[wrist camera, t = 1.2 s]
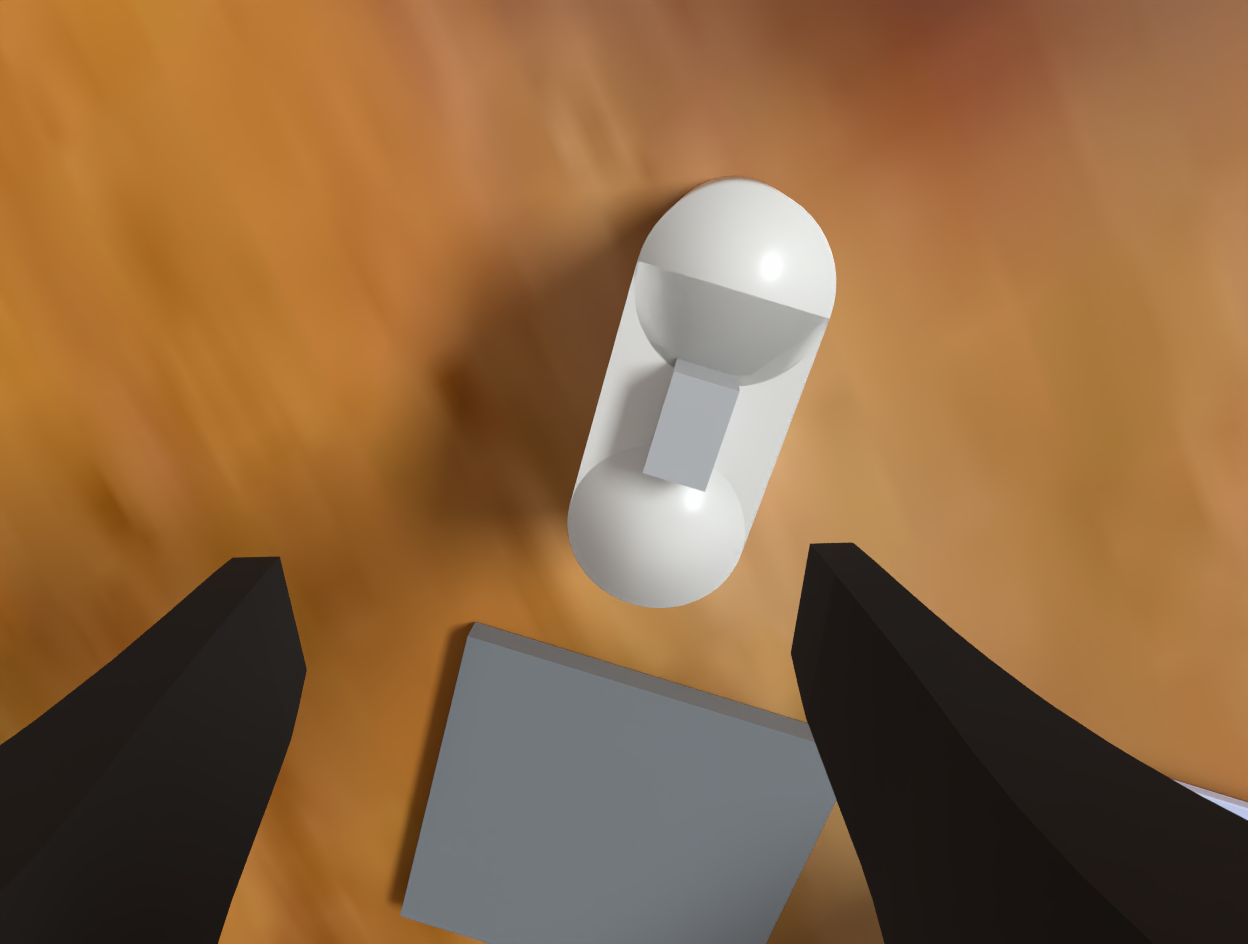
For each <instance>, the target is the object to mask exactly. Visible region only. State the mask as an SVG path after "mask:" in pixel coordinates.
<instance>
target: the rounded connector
mask: <svg viewBox="0 0 1248 944" xmlns="http://www.w3.org/2000/svg"><path fill="white" fill-rule="evenodd" d="M835 294H836V272H835V264H834V260H833V256H832V252H831V249H830V247H829V244H828V241H827V239H826V237H825V235H824V234H823V232H822V230H821V228H820V227H819V225H818V224H817V223H816V221H815V220H814V219H813V218H812V216H811V215H810V214H809V213H808V212H807V211H806V210H805V209H804V208H803V207H801V206H800V205H799V204H797V203H796V202H795V201H793V200H792V199H791V198H789V197H787V196H786V195H784V194H783V193H781V192H780V191H778V190H777V189H775V188H774V187H772V186H770V185H768V184H766V183H765V182H762V181H760V180H757V179H754V178H749V177H744V176H725V177H720V178H715V179H712V180H709V181H706V182H704V183H702V184H700V185H698V186H697V187H695V188H694V189H692V190H691V191H689V192H688V193H687V194H686V195H685V196H683V197H682V198H681V199H680V200H679V201H678V202H677V203H676V204H675V205H674V206H673V207H672V208H671V209H670V210H668V211H667V212H666V213H665V214H664V215H663V217H662V218H661V219H660V220H659V221H658V222H657V223H656V225H655V226H654V228H653V229H652V230H651V232H650V233H649V235H648V237H647V239H646V241H645V243H644V245H643V247H642V249H641V252H640V255H639V258H638V260H637V264H636V268H635V271H634V275H633V278H632V282H631V286H630V289H629V293H628V296H627V300H626V304H625V307H624V311H623V314H622V318H621V322H620V325H619V329H618V333H617V336H616V340H615V343H614V347H613V351H612V354H611V358H610V361H609V365H608V369H607V372H606V376H605V379H604V383H603V387H602V390H601V394H600V397H599V401H598V405H597V408H596V412H595V415H594V419H593V423H592V426H591V430H590V434H589V437H588V441H587V444H586V448H585V452H584V455H583V459H582V462H581V466H580V470H579V473H578V477H577V480H576V484H575V488H574V491H573V495H572V498H571V502H570V506H569V511H568V521H567V527H568V537H569V541H570V545H571V548H572V551H573V553H574V556H575V558H576V560H577V561H578V563H579V565H580V566H581V568H582V569H583V571H584V572H585V573H586V575H587V576H588V577H589V578H590V579H591V580H592V581H593V582H594V583H595V584H596V585H598V586H599V587H600V588H601V589H603V590H604V591H606V592H607V593H609V594H610V595H612V596H614V597H616V598H618V599H620V600H622V601H625V602H628V603H630V604H634V605H638V606H643V607H651V608H668V607H676V606H681V605H685V604H688V603H691V602H694V601H697V600H699V599H701V598H703V597H705V596H706V595H708V594H709V593H711V592H712V591H714V590H715V589H716V588H718V587H719V586H720V585H721V584H722V583H723V582H724V581H725V580H726V579H727V578H728V576H729V575H730V574H731V572H732V571H733V569H734V568H735V566H736V564H737V562H738V560H739V558H740V556H741V553H742V550H743V548H744V545H745V542H746V540H747V537H748V534H749V532H750V529H751V526H752V524H753V521H754V518H755V516H756V513H757V510H758V508H759V505H760V502H761V500H762V497H763V494H764V492H765V489H766V486H767V484H768V481H769V478H770V476H771V473H772V470H773V468H774V465H775V463H776V460H777V457H778V455H779V452H780V449H781V447H782V444H783V441H784V439H785V436H786V433H787V431H788V428H789V425H790V423H791V420H792V417H793V415H794V412H795V409H796V407H797V404H798V401H799V399H800V396H801V393H802V391H803V388H804V385H805V383H806V380H807V377H808V375H809V372H810V369H811V367H812V364H813V361H814V359H815V356H816V353H817V351H818V348H819V345H820V343H821V340H822V337H823V335H824V332H825V329H826V327H827V324H828V321H829V319H830V316H831V312H832V309H833V306H834V300H835Z"/></svg>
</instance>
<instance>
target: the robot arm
mask: <svg viewBox="0 0 1248 944" xmlns="http://www.w3.org/2000/svg"><path fill="white" fill-rule="evenodd" d="M791 656H792V660H793V665H794V669H795V674H796V678H797V683H798V687H799V691H800V695H801V699H802V703H803V707H804V711H805V715H806V719H807V722H808V725H809V727H810V730H811V733H812V736H813V738H814V741H815V744H816V746H817V749H818V752H819V755H820V757H821V760H822V763H823V765H824V768H825V771H826V773H827V776H828V779H829V781H830V784H831V787H832V789H833V792H834V794H835V797H836V800H837V802H838V805H839V808H840V810H841V813H842V816H843V818H844V821H845V824H846V826H847V829H848V831H849V834H850V837H851V839H852V842H853V845H854V847H855V850H856V853H857V855H858V858H859V860H860V863H861V866H862V869H863V872H864V875H865V878H866V881H867V884H868V887H869V890H870V893H871V896H872V899H873V902H874V906H875V910H876V914H877V917H878V921H879V925H880V928H881V932H882V936H883V939H884V943H885V944H1248V802H1245V801H1241V800H1238V799H1235V798H1232V797H1228V796H1225V795H1222V794H1219V793H1215V792H1212V791H1209V790H1205V789H1202V788H1199V787H1196V786H1192V785H1189V784H1186V783H1183V782H1179V781H1176V780H1173V779H1170V778H1169V777H1167V776H1165V775H1163V774H1162V773H1160V772H1158V771H1156V770H1155V769H1153V768H1151V767H1149V766H1147V765H1146V764H1144V763H1142V762H1140V761H1139V760H1137V759H1135V758H1134V757H1132V756H1130V755H1129V754H1127V753H1125V752H1124V751H1122V750H1121V749H1119V748H1117V747H1116V746H1114V745H1112V744H1111V743H1109V742H1107V741H1106V740H1104V739H1103V738H1101V737H1100V736H1098V735H1097V734H1095V733H1094V732H1092V731H1091V730H1089V729H1087V728H1086V727H1084V726H1083V725H1081V724H1080V723H1078V722H1077V721H1075V720H1074V719H1072V718H1071V717H1069V716H1068V715H1066V714H1065V713H1063V712H1062V711H1060V710H1058V709H1057V708H1055V707H1054V706H1053V705H1051V704H1050V703H1048V702H1047V701H1045V700H1044V699H1043V698H1041V697H1040V696H1038V695H1037V694H1035V693H1034V692H1033V691H1031V690H1030V689H1029V688H1027V687H1026V686H1025V685H1023V684H1022V683H1021V682H1019V681H1018V680H1017V679H1015V678H1014V677H1013V676H1011V675H1010V674H1009V673H1007V672H1006V671H1005V670H1003V669H1002V668H1001V667H999V666H998V665H997V664H995V663H994V662H993V661H991V660H990V659H989V658H988V657H986V656H985V655H984V654H983V653H981V652H980V651H979V650H978V649H976V648H975V647H974V646H973V645H971V644H970V643H969V642H968V641H966V640H965V639H964V638H963V637H961V636H960V635H959V634H958V633H957V632H955V631H954V630H953V629H952V628H951V627H949V626H948V625H947V624H946V623H945V622H944V621H942V620H941V619H940V618H939V617H938V616H936V615H935V614H934V613H933V612H932V611H931V610H929V609H928V608H927V607H926V606H925V605H924V604H923V603H921V602H920V601H919V600H918V599H917V598H916V597H915V596H913V595H912V594H911V593H910V592H909V591H908V590H907V589H905V588H904V587H903V586H902V585H901V584H900V583H899V582H898V581H896V580H895V579H894V578H893V577H892V576H891V575H890V574H889V573H887V572H886V571H885V570H884V569H883V568H882V567H881V566H880V565H878V564H877V563H876V562H875V561H874V560H873V559H872V558H870V557H869V556H868V555H867V554H866V553H865V552H863V551H862V550H861V549H860V548H859V547H857V546H856V545H855V544H854V543H818V544H810V547H809V552H808V558H807V564H806V570H805V575H804V581H803V587H802V592H801V598H800V604H799V609H798V615H797V621H796V627H795V632H794V638H793V644H792V649H791ZM306 670H307V669H306V665H305V661H304V656H303V652H302V648H301V644H300V640H299V635H298V631H297V627H296V623H295V619H294V615H293V610H292V606H291V602H290V598H289V594H288V589H287V585H286V581H285V577H284V573H283V569H282V564H281V560H280V557H245V558H232V559H231V560H229V561H228V562H227V563H225V564H224V565H223V566H222V567H220V568H219V569H218V570H217V571H216V572H214V573H213V574H212V575H211V576H210V577H209V578H207V579H206V580H205V581H204V582H203V583H202V584H201V585H199V586H198V587H197V588H196V589H195V590H194V591H192V592H191V593H190V594H189V595H188V596H187V597H186V598H184V599H183V600H182V601H181V602H180V603H179V604H178V605H176V606H175V607H174V608H173V609H172V610H171V611H170V612H168V613H167V614H166V615H165V616H164V617H163V618H161V619H160V620H159V621H158V622H157V623H156V624H154V625H153V626H152V627H151V628H150V629H148V630H147V631H146V632H145V633H144V634H143V635H141V636H140V637H139V638H138V639H137V640H135V641H134V642H133V643H132V644H131V645H130V646H128V647H127V648H126V649H125V650H124V651H122V652H121V653H120V654H119V655H118V656H117V657H115V658H114V659H113V660H112V661H111V662H109V663H108V664H107V665H106V666H104V667H103V668H102V669H100V670H99V671H98V672H97V673H95V674H94V675H93V676H91V677H90V678H89V679H88V680H86V681H85V682H84V683H82V684H81V685H80V686H79V687H77V688H76V689H75V690H73V691H72V692H71V693H70V694H68V695H67V696H66V697H64V698H63V699H62V700H61V701H59V702H58V703H57V704H55V705H54V706H53V707H52V708H50V709H49V710H48V711H47V712H45V713H44V714H43V715H41V716H40V717H39V718H38V719H36V720H35V721H33V722H32V723H31V724H29V725H28V726H27V727H25V728H24V729H23V730H21V731H20V732H18V733H17V734H16V735H14V736H13V737H11V738H10V739H9V740H7V741H6V742H4V743H3V744H1V745H0V944H218V942H219V938H220V935H221V932H222V929H223V926H224V923H225V920H226V916H227V913H228V910H229V907H230V904H231V901H232V898H233V896H234V893H235V890H236V888H237V885H238V882H239V879H240V877H241V874H242V871H243V869H244V866H245V863H246V861H247V858H248V855H249V853H250V850H251V847H252V845H253V842H254V839H255V837H256V834H257V831H258V828H259V826H260V823H261V820H262V818H263V815H264V812H265V810H266V807H267V804H268V802H269V799H270V796H271V794H272V791H273V788H274V785H275V783H276V780H277V777H278V774H279V772H280V769H281V766H282V763H283V761H284V758H285V755H286V752H287V749H288V746H289V744H290V741H291V737H292V733H293V729H294V725H295V721H296V717H297V712H298V708H299V704H300V699H301V694H302V689H303V685H304V680H305V675H306Z"/></svg>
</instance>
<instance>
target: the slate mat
mask: <svg viewBox="0 0 1248 944" xmlns="http://www.w3.org/2000/svg"><path fill="white" fill-rule="evenodd" d="M835 802H836V797H835V794H834V792H833V789H832V787H831V784H830V781H829V779H828V776H827V773H826V771H825V768H824V765H823V763H822V760H821V757H820V755H819V752H818V749H817V746H816V744H815V741H814V738H813V736H812V733H811V730H810V727H809V725H808V723H804V722H801V721H798V720H795V719H791V718H788V717H785V716H782V715H778V714H775V713H772V712H768V711H765V710H762V709H759V708H755V707H752V706H749V705H746V704H742V703H739V702H736V701H733V700H729V699H726V698H723V697H719V696H716V695H713V694H710V693H706V692H703V691H700V690H697V689H693V688H690V687H687V686H683V685H680V684H677V683H674V682H670V681H667V680H664V679H661V678H657V677H654V676H651V675H647V674H644V673H641V672H638V671H634V670H631V669H628V668H625V667H621V666H618V665H615V664H611V663H608V662H605V661H602V660H598V659H595V658H592V657H589V656H585V655H582V654H579V653H576V652H572V651H569V650H566V649H562V648H559V647H556V646H553V645H549V644H546V643H543V642H540V641H536V640H533V639H530V638H526V637H523V636H520V635H517V634H513V633H510V632H507V631H504V630H500V629H497V628H494V627H490V626H487V625H484V624H481V623H477V622H475V623H474V625H473V627H472V629H471V631H470V633H469V634H468V636H467V641H466V645H465V649H464V653H463V657H462V661H461V666H460V670H459V674H458V678H457V682H456V686H455V690H454V695H453V699H452V703H451V707H450V711H449V715H448V720H447V724H446V728H445V732H444V736H443V740H442V744H441V749H440V753H439V757H438V761H437V765H436V769H435V774H434V778H433V782H432V786H431V790H430V794H429V798H428V803H427V807H426V811H425V815H424V819H423V823H422V828H421V832H420V836H419V840H418V844H417V848H416V852H415V857H414V861H413V865H412V869H411V873H410V877H409V882H408V886H407V890H406V894H405V898H404V902H403V906H402V911H401V915H400V916H402V917H405V918H408V919H411V920H415V921H418V922H421V923H424V924H428V925H431V926H434V927H437V928H441V929H444V930H447V931H450V932H453V933H457V934H460V935H463V936H466V937H470V938H473V939H476V940H479V941H483V942H486V943H489V944H766V942H767V940H768V938H769V936H770V934H771V932H772V930H773V928H774V926H775V924H776V922H777V920H778V918H779V916H780V914H781V912H782V910H783V908H784V906H785V904H786V902H787V900H788V898H789V896H790V894H791V891H792V889H793V887H794V885H795V883H796V881H797V879H798V877H799V875H800V873H801V871H802V869H803V867H804V865H805V863H806V861H807V859H808V857H809V855H810V853H811V851H812V849H813V847H814V845H815V843H816V841H817V838H818V836H819V834H820V832H821V830H822V828H823V826H824V824H825V822H826V820H827V818H828V816H829V814H830V812H831V810H832V808H833V806H834V804H835Z"/></svg>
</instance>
